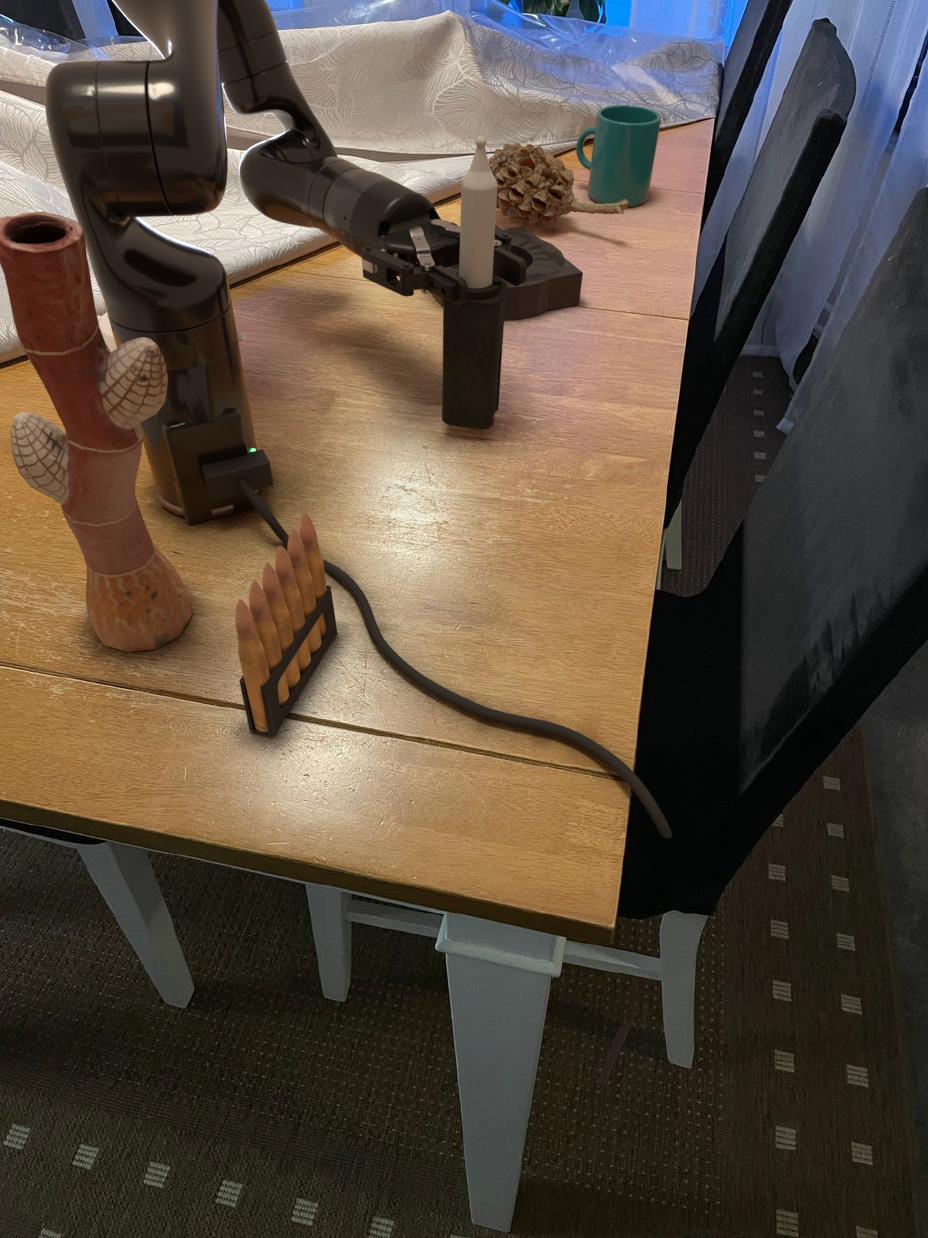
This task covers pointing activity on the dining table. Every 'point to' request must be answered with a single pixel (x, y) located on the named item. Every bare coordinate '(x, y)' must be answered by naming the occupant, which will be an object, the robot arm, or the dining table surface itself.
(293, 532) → the ammunition clip
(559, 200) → the pine cone
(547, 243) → the candle base
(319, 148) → the robot arm
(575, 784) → the dining table surface
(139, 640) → the vase
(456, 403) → the candle
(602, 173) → the cup
